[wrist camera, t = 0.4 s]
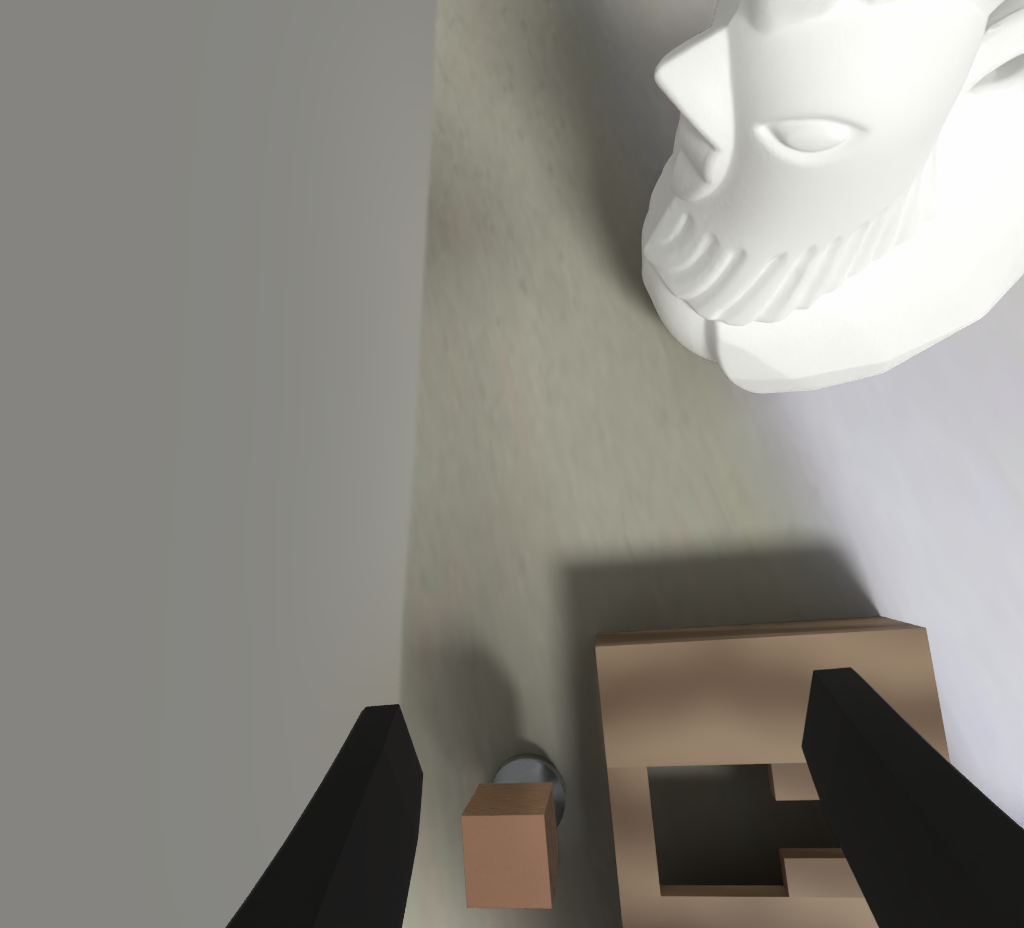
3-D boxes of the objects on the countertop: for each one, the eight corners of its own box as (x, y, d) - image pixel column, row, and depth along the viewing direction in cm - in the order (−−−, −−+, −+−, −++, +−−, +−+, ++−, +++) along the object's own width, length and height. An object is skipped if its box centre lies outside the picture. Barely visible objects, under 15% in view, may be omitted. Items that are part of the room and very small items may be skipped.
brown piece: (569, 832, 35) (556, 913, 27) (495, 832, 36) (463, 912, 28) (562, 752, 36) (548, 810, 28) (490, 755, 37) (456, 811, 29)
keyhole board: (940, 969, 31) (1001, 1047, 26) (630, 961, 34) (633, 1032, 29) (881, 616, 34) (925, 628, 29) (597, 633, 36) (595, 646, 32)
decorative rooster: (634, 409, 38) (668, 165, 14) (635, 178, 40) (666, -391, 16) (1088, 406, 34) (2307, 43, 9) (1062, 147, 36) (2010, -697, 11)
